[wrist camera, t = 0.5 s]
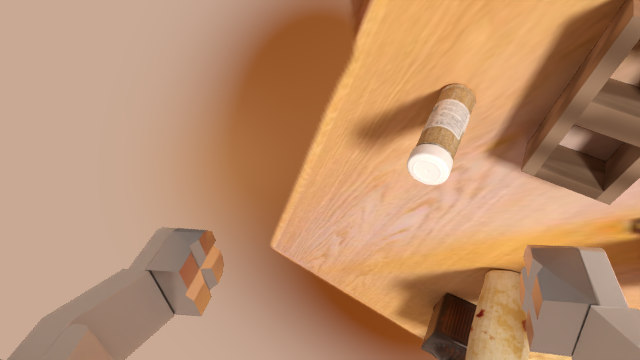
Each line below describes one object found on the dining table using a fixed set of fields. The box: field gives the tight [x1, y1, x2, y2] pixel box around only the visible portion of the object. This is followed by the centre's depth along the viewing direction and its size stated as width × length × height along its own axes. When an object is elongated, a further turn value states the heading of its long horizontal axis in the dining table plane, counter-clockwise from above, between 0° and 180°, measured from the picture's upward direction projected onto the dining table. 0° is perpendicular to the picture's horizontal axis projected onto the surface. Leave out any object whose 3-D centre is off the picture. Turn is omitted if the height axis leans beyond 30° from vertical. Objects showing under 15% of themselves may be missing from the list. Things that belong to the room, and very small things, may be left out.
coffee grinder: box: [421, 293, 477, 360], centre depth 83 cm, size 16×11×18 cm
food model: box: [465, 270, 530, 360], centre depth 67 cm, size 10×7×20 cm
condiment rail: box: [521, 0, 640, 205], centre depth 42 cm, size 20×10×5 cm, turn 174°
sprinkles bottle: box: [407, 84, 476, 185], centre depth 49 cm, size 5×5×13 cm
